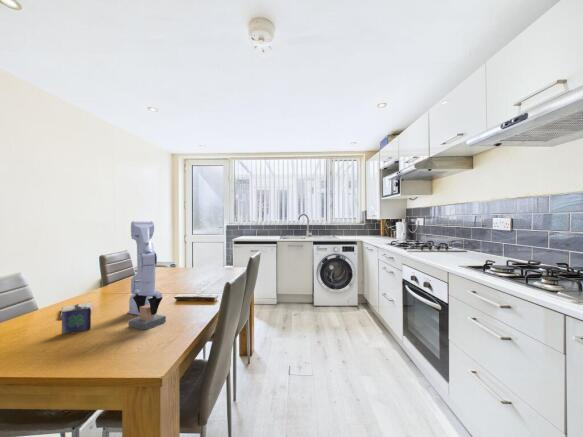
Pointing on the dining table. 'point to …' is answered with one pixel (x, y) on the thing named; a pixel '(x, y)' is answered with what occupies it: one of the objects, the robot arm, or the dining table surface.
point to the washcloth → (74, 308)
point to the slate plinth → (147, 322)
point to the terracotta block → (145, 312)
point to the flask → (76, 319)
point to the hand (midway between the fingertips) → (147, 313)
